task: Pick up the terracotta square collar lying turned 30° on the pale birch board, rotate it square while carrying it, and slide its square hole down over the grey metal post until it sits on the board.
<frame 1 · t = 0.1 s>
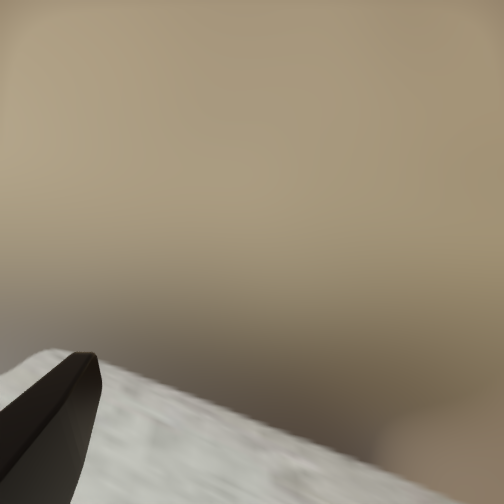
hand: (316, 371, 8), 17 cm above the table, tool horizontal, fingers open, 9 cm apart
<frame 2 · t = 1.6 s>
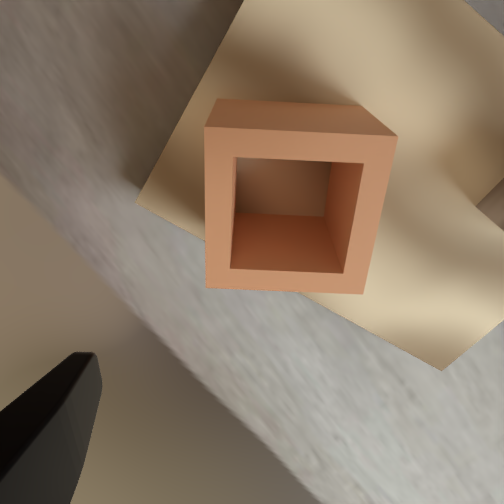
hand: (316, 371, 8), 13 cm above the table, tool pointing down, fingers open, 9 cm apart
post board: (388, 182, 20), on the table
collar: (283, 172, 18), point 1 cm above the table, touching post board
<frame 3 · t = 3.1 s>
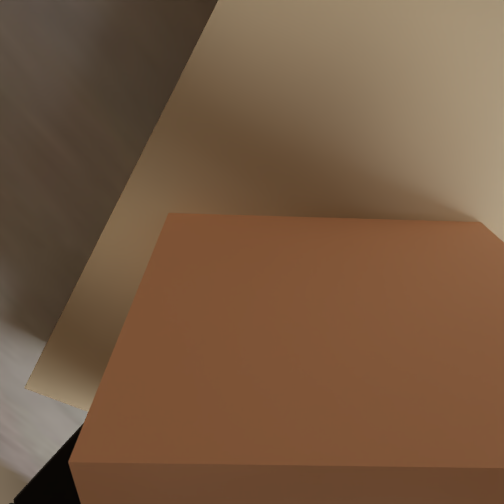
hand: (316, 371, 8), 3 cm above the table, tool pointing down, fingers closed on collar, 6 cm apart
post board: (494, 325, 11), on the table
collar: (309, 337, 9), point 2 cm above the table, touching gripper, post board
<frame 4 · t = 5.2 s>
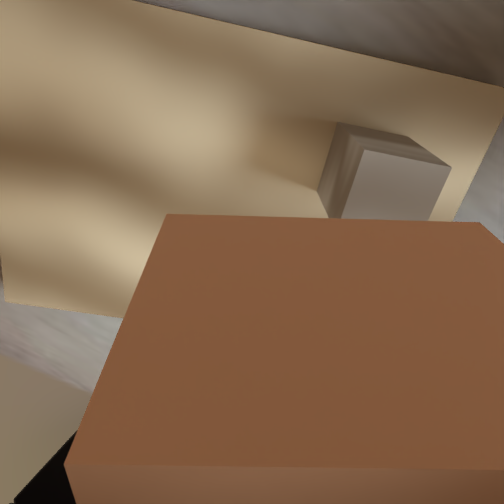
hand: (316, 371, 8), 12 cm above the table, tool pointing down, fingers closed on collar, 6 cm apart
post board: (231, 195, 19), on the table
collar: (308, 337, 9), point 11 cm above the table, touching gripper
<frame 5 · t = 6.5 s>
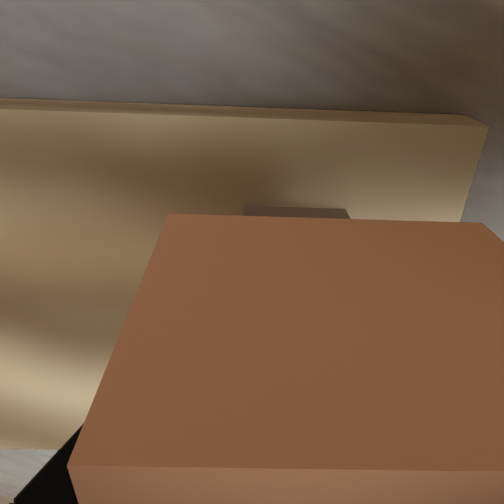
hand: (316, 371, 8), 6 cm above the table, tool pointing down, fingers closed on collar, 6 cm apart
post board: (147, 297, 15), on the table
collar: (309, 338, 9), point 6 cm above the table, touching gripper
when the fingers open (3 cm above the table, at t = 7.5 s): collar stays where it is, resting on post board.
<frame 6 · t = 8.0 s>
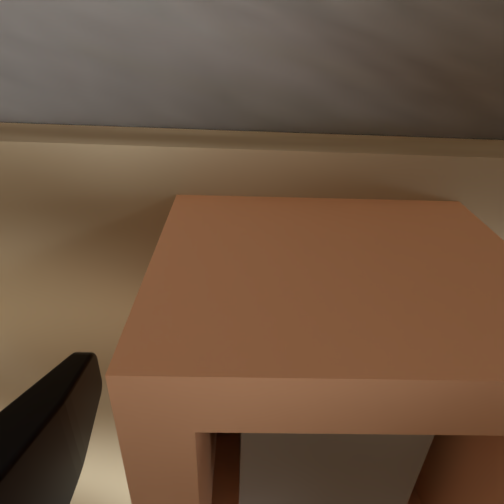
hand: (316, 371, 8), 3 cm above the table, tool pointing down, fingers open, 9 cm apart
post board: (128, 353, 13), on the table
collar: (305, 310, 10), point 1 cm above the table, touching post board
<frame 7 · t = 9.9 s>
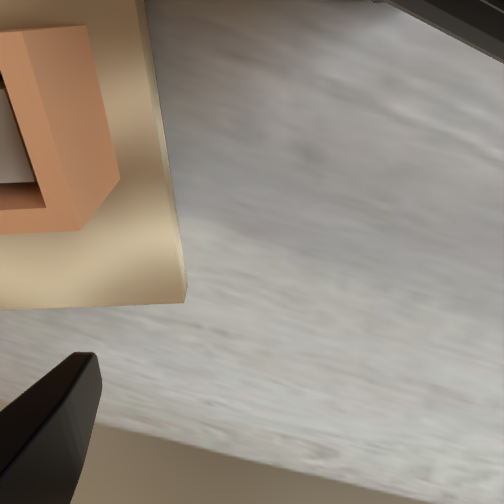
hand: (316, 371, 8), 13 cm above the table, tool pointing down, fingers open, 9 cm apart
collar: (32, 112, 17), point 1 cm above the table, touching post board
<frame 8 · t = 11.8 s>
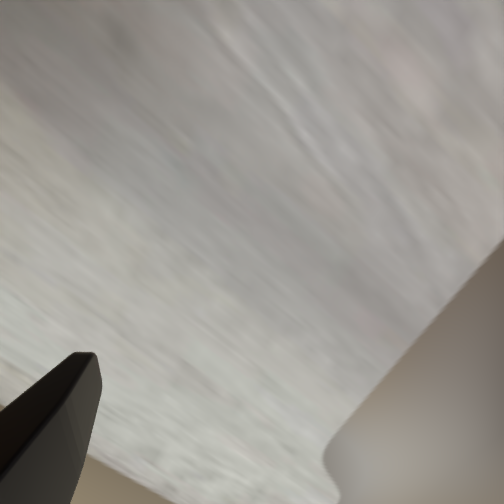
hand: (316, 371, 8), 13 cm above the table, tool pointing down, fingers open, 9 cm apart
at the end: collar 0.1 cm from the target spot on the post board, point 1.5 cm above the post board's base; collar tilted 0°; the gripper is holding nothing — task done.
